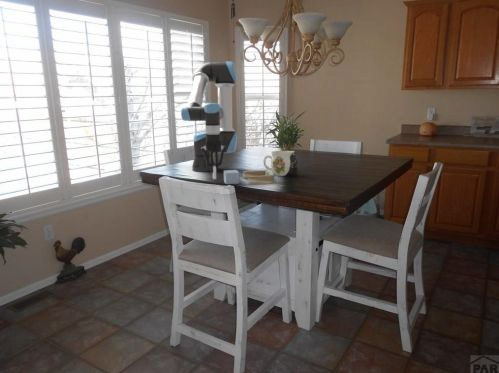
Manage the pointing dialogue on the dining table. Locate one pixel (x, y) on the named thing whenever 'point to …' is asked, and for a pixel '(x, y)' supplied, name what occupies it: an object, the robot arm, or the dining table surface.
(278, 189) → the dining table surface
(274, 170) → the pitcher
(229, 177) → the keeper
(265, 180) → the dock
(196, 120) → the robot arm
